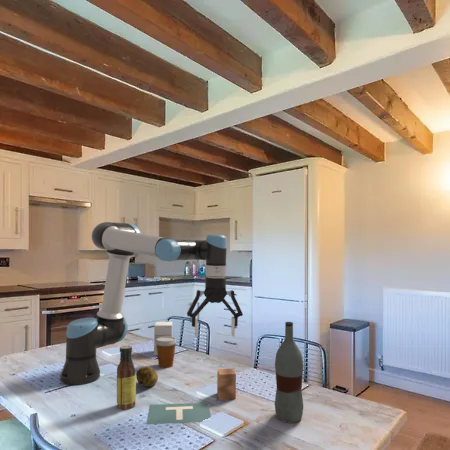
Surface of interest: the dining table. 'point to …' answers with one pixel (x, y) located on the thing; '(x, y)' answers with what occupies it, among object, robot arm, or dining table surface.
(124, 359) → the sauce bottle
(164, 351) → the disposable coffee cup
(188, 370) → the dining table surface
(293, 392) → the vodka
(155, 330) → the supplement box
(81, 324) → the robot arm
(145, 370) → the potato
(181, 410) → the letter card
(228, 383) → the wooden block
